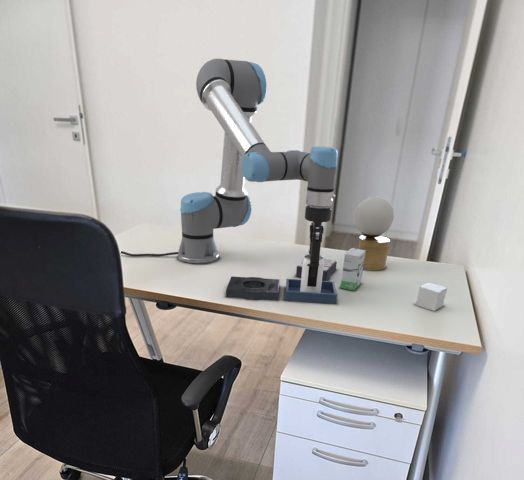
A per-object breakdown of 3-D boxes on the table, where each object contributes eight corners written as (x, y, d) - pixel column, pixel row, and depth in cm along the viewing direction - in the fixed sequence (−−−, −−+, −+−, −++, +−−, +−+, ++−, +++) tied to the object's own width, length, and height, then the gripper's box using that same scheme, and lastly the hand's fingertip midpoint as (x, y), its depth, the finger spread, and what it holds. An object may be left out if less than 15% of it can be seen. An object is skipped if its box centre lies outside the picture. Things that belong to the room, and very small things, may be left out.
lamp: (340, 260, 173) (349, 193, 161) (370, 257, 178) (381, 192, 166) (363, 272, 161) (374, 201, 149) (394, 268, 166) (407, 200, 154)
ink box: (353, 291, 144) (359, 256, 138) (339, 288, 146) (344, 253, 140) (361, 283, 151) (366, 249, 145) (347, 280, 152) (351, 247, 147)
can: (324, 294, 139) (328, 257, 133) (312, 299, 135) (315, 261, 129) (308, 288, 143) (311, 252, 137) (295, 293, 139) (298, 256, 133)
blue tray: (284, 300, 134) (285, 291, 133) (285, 287, 145) (286, 278, 143) (335, 303, 134) (337, 294, 132) (333, 290, 144) (334, 281, 142)
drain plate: (225, 297, 134) (225, 290, 133) (231, 282, 146) (231, 275, 145) (277, 301, 134) (278, 293, 133) (279, 285, 145) (279, 278, 144)
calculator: (337, 259, 161) (327, 269, 148) (335, 271, 163) (325, 281, 150) (308, 255, 164) (296, 264, 152) (307, 266, 166) (295, 276, 154)
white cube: (442, 305, 136) (447, 287, 133) (434, 311, 132) (438, 292, 129) (424, 300, 140) (428, 282, 137) (415, 304, 136) (419, 286, 133)
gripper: (334, 213, 117) (325, 294, 128) (329, 200, 134) (321, 272, 145) (306, 212, 117) (299, 292, 129) (305, 199, 134) (299, 271, 146)
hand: (311, 282), depth 137 cm, fingers closed on can, 6 cm apart
